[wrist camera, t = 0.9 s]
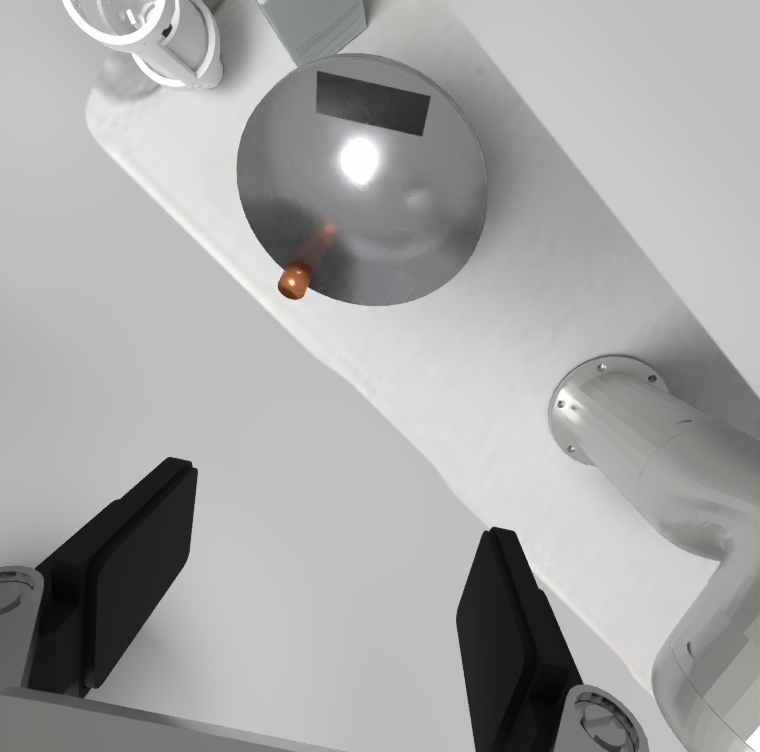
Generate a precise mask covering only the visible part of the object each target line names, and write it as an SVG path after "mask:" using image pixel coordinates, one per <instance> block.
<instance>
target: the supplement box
mask: <svg viewBox="0 0 760 752" xmlns="http://www.w3.org/2000/svg"><path fill="white" fill-rule="evenodd" d="M256 2H257V4H258V5H259V7H260V9H261V10H262V12H263V13H264V15H265V17H266V18H267V20H268V22H269V23H270V25H271V27H272V28H273V30H274V31H275V33H276V35H277V36H278V38H279V40H280V41H281V43H282V44H283V46H284V48H285V49H286V51H287V52H288V54H289V55H290V57H291V59H292V60H293V62H294V63H295V65H296V66H297V68H298V67H300V66H302V65H304V64H305V63H308V62H311V61H313V60H316V59H319V58H322V57H326V56H331V55H334V54H335V53H336V52H338V51H339V50H340V49H341V48H342V47H344V46H345V45H346V44H347V43H349V42H350V41H351V40H352V39H353V38H355V37H356V36H357V35H358V34H359V33H361V32H362V31H363V30H364V29H366V28H367V23H366V17H365V11H364V4H363V0H256Z"/></svg>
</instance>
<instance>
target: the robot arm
mask: <svg viewBox="0 0 760 752" xmlns="http://www.w3.org/2000/svg"><path fill="white" fill-rule="evenodd" d="M599 364H600V366H599V367H598V365H599ZM597 367H598V368H597ZM649 376H650V377H649ZM558 401H560V403H558ZM548 418H549V426H550V431H551V434H552V436H553V438H554V440H555V441H556V443H557V444H558V445H559V447H560V448H561V449H562V450H563V451H564V452H565V453H566V454H567V455H568V456H570V457H571V458H573V459H574V460H576V461H578V462H580V463H583V464H585V465H590V466H594V467H598V468H599V469H600V470H601V471H602V473H603V474H604V475H605V476H606V477H607V478H608V479H609V480H610V481H611V482H612V483H613V484H614V486H615V487H616V488H617V489H618V490H619V491H620V492H621V493H622V494H623V495H624V496H625V497H626V499H627V500H628V501H629V502H630V503H631V504H632V505H633V506H634V507H635V508H636V509H637V510H638V512H639V513H640V514H641V515H642V516H643V517H644V518H645V519H646V520H647V521H648V522H649V523H650V524H651V525H652V526H653V527H654V528H655V530H656V531H657V532H658V533H659V534H661V535H662V536H663V537H664V538H665V539H666V540H668V541H669V542H671V543H672V544H673V545H675V546H677V547H678V548H680V549H682V550H684V551H687V552H689V553H691V554H694V555H696V556H699V557H703V558H707V559H711V560H715V561H721V563H720V565H719V566H718V568H717V569H716V570H715V572H714V573H713V575H712V576H711V578H710V579H709V580H708V584H707V585H706V586H705V588H704V589H703V590H702V592H701V593H700V594H699V596H698V597H697V598H696V600H695V601H694V602H693V604H692V605H691V607H690V608H689V609H688V611H687V612H686V613H685V615H684V616H683V617H682V619H681V620H680V621H679V623H678V624H677V625H676V627H675V628H674V629H673V631H672V633H671V634H670V636H669V637H668V638H667V640H666V641H665V643H664V644H663V646H662V647H661V649H660V651H659V652H658V654H657V656H656V658H655V661H654V664H653V668H652V678H651V681H652V688H653V693H654V696H655V699H656V702H657V705H658V707H659V709H660V711H661V713H662V715H663V717H664V718H665V720H666V722H667V724H668V725H669V727H670V728H671V729H672V731H673V733H674V734H675V736H676V737H677V738H678V740H679V741H680V742H681V744H682V745H683V746H684V748H685V749H686V750H687V751H688V752H760V441H759V440H757V439H755V438H753V437H751V436H749V435H747V434H745V433H743V432H741V431H739V430H738V429H736V428H734V427H732V426H730V425H728V424H726V423H724V422H722V421H720V420H718V419H716V418H715V417H713V416H711V415H709V414H707V413H705V412H703V411H701V410H699V409H697V408H695V407H693V406H692V405H690V404H688V403H686V402H684V401H682V400H680V399H678V398H676V397H674V396H672V395H670V393H669V390H668V388H667V385H666V383H665V382H664V380H663V379H662V377H661V376H660V375H659V374H658V373H657V372H656V371H655V370H654V369H653V368H651V367H649V366H648V365H646V364H644V363H642V362H640V361H637V360H635V359H632V358H627V357H623V356H608V357H602V358H597V359H594V360H591V361H588V362H586V363H584V364H583V365H581V366H579V367H577V368H576V369H575V370H573V371H572V372H571V373H569V374H568V375H567V376H566V377H565V378H564V379H563V381H562V382H561V383H560V384H559V386H558V387H557V389H556V391H555V392H554V394H553V397H552V399H551V402H550V407H549V412H548ZM569 446H570V447H569ZM197 475H198V470H197V468H193V467H192V462H190V461H186V460H182V459H177V458H172V457H168V458H166V459H165V460H164V461H163V462H162V463H161V464H159V465H158V466H157V467H156V468H155V469H154V470H153V471H152V472H150V473H149V474H148V475H147V476H146V477H145V478H143V479H142V480H141V481H140V482H139V483H138V484H137V485H136V486H134V487H133V488H132V489H131V490H130V491H129V492H128V493H126V494H125V495H124V496H123V497H122V498H121V499H118V500H115V501H113V502H112V503H110V504H109V505H108V506H107V507H106V508H104V509H103V510H102V511H101V512H100V513H99V514H97V515H96V516H95V517H94V518H93V519H92V520H90V521H89V522H88V523H87V524H86V525H85V526H84V527H82V528H81V529H80V530H79V531H78V532H77V533H75V534H74V535H73V536H72V537H71V538H70V539H68V540H67V541H66V542H65V543H64V544H63V545H62V546H60V547H59V548H58V549H57V550H56V551H54V552H53V553H52V554H51V555H50V556H49V557H48V558H46V559H45V560H44V561H43V562H42V563H41V564H40V565H38V566H37V567H36V568H35V569H33V568H30V567H25V566H4V567H0V752H345V751H339V750H335V749H330V748H325V747H320V746H315V745H311V744H306V743H301V742H296V741H291V740H287V739H282V738H277V737H272V736H267V735H262V734H258V733H253V732H247V731H243V730H238V729H233V728H228V727H223V726H219V725H213V724H209V723H204V722H199V721H194V720H188V719H184V718H179V717H174V716H169V715H164V714H158V713H153V712H149V711H143V710H139V709H134V708H129V707H123V706H119V705H114V704H108V703H104V702H98V701H93V700H88V699H84V697H85V696H86V695H87V693H88V692H89V690H90V689H91V688H95V689H97V688H99V687H100V686H101V685H102V684H103V682H104V681H105V680H106V678H107V677H108V675H109V674H110V672H111V671H112V669H113V668H114V667H115V665H116V664H117V662H118V661H119V659H120V658H121V657H122V655H123V654H124V652H125V651H126V649H127V648H128V646H129V645H130V644H131V642H132V641H133V639H134V638H135V636H136V635H137V633H138V632H139V631H140V629H141V628H142V626H143V625H144V623H145V622H146V620H147V619H148V617H149V616H150V615H151V613H152V612H153V610H154V609H155V607H156V606H157V605H158V603H159V602H160V600H161V599H162V597H163V596H164V594H165V593H166V591H167V590H168V589H169V587H170V586H171V584H172V583H173V581H174V580H175V578H176V577H177V576H178V574H179V573H180V571H181V570H182V568H183V567H184V565H185V563H186V561H187V559H188V556H189V551H190V541H191V533H192V523H193V514H194V504H195V495H196V485H197ZM456 624H457V631H458V637H459V644H460V651H461V658H462V664H463V670H464V677H465V684H466V691H467V697H468V704H469V710H470V717H471V724H472V730H473V736H474V743H475V750H476V752H649V748H648V742H647V738H646V736H645V733H644V732H643V729H642V727H641V725H640V724H639V722H638V721H637V720H636V718H635V717H634V715H633V714H632V713H631V712H630V711H629V710H628V709H627V708H626V707H625V706H624V705H623V704H622V703H621V702H620V701H618V700H617V699H616V698H615V697H613V696H612V695H611V694H609V693H607V692H605V691H604V690H602V689H600V688H598V687H594V686H590V685H584V684H583V682H582V679H581V677H580V674H579V672H578V670H577V667H576V665H575V663H574V660H573V658H572V656H571V653H570V651H569V649H568V646H567V644H566V641H565V639H564V637H563V634H562V632H561V630H560V627H559V625H558V623H557V620H556V618H555V616H554V613H553V611H552V608H551V606H550V604H549V601H548V599H547V597H546V595H545V593H544V592H543V591H542V590H541V589H539V588H538V586H537V584H536V581H535V579H534V576H533V574H532V571H531V569H530V567H529V564H528V562H527V559H526V557H525V554H524V552H523V550H522V547H521V545H520V542H519V540H518V537H517V535H516V533H515V532H514V531H512V530H507V529H502V528H498V527H492V528H491V529H490V531H484V532H483V534H482V537H481V540H480V543H479V546H478V549H477V552H476V555H475V558H474V561H473V564H472V567H471V570H470V573H469V576H468V579H467V582H466V585H465V588H464V591H463V594H462V597H461V600H460V603H459V606H458V610H457V616H456Z"/></svg>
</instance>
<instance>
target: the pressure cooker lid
mask: <svg viewBox="0 0 760 752" xmlns="http://www.w3.org/2000/svg"><path fill="white" fill-rule="evenodd" d="M237 184H238V190H239V195H240V200H241V203H242V206H243V210H244V213H245V215H246V218H247V220H248V222H249V224H250V227H251V229H252V230H253V232H254V234H255V235H256V237H257V239H258V241H259V242H260V243H261V245H262V246H263V247H264V249H265V250H266V252H267V253H268V254H269V255H270V256H271V257H272V258H273V260H274V261H275V262H276V263H277V264H278V265H279V266H280V267H281V268H283V269H284V272H283V274H282V276H281V278H280V280H279V282H278V289H279V291H280V292H281V294H282V295H284V296H285V297H287V298H289V299H293V300H297V299H300V298H302V297H303V296H304V294H305V292H306V289H307V287H309V288H310V289H312V290H314V291H316V292H318V293H320V294H322V295H325V296H328V297H330V298H333V299H336V300H339V301H343V302H347V303H352V304H358V305H367V306H388V305H395V304H401V303H405V302H409V301H413V300H415V299H418V298H421V297H423V296H426V295H428V294H429V293H431V292H433V291H435V290H437V289H438V288H440V287H441V286H443V285H444V284H446V283H447V282H448V281H449V280H450V279H452V278H453V277H454V276H455V275H456V274H457V273H458V272H459V271H460V270H461V268H462V267H463V266H464V265H465V264H466V262H467V261H468V259H469V258H470V256H471V255H472V253H473V251H474V250H475V247H476V245H477V243H478V241H479V239H480V236H481V233H482V229H483V226H484V222H485V215H486V209H487V177H486V169H485V162H484V158H483V154H482V151H481V147H480V144H479V142H478V139H477V137H476V135H475V132H474V130H473V128H472V126H471V124H470V123H469V121H468V120H467V118H466V116H465V115H464V113H463V111H462V110H461V109H460V108H459V106H458V105H457V104H456V103H455V102H454V100H453V99H452V98H451V97H450V96H449V95H448V94H447V93H446V92H445V91H444V90H443V89H442V88H441V87H440V86H438V85H437V84H436V83H435V82H434V81H432V80H431V79H429V78H428V77H426V76H425V75H424V74H422V73H421V72H419V71H417V70H415V69H413V68H411V67H409V66H407V65H405V64H403V63H401V62H398V61H395V60H392V59H388V58H385V57H382V56H376V55H369V54H362V53H349V54H337V55H331V56H326V57H322V58H319V59H316V60H313V61H311V62H308V63H305V64H304V65H302V66H300V67H298V68H297V69H295V70H293V71H291V72H290V73H289V74H287V75H286V76H285V77H284V78H282V79H281V80H280V81H279V82H278V83H276V85H275V86H274V87H273V88H272V89H271V90H270V91H269V92H268V93H267V95H266V96H265V97H264V98H263V99H262V100H261V102H260V103H259V104H258V105H257V106H256V108H255V110H254V111H253V113H252V114H251V116H250V118H249V119H248V121H247V124H246V126H245V129H244V131H243V134H242V136H241V141H240V145H239V149H238V157H237Z"/></svg>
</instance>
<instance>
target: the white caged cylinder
mask: <svg viewBox="0 0 760 752" xmlns="http://www.w3.org/2000/svg"><path fill="white" fill-rule="evenodd" d="M62 1H63V4H64V6H65V8H66V9H67V11H68V13H69V14H70V16H71V17H72V18H73V20H74V21H75V22H76V23H77V24H78V26H79V27H80V28H82V29H83V30H84V31H85V32H86V33H88V34H89V35H90V36H92V37H93V38H95V39H96V40H97V41H99V42H100V43H102V44H103V45H105V46H107V47H109V48H111V49H114V50H117V51H121V52H131V53H132V56H133V58H134V59H135V61H136V63H137V64H138V66H139V67H140V68H141V69H142V71H143V72H144V73H145V74H146V75H148V76H149V77H150V78H151V79H153V80H154V81H156V82H157V83H159V84H160V85H162V86H163V87H165V88H168V89H170V90H174V91H181V92H184V91H191V90H194V89H197V88H199V87H200V86H201V87H203V88H207V89H210V88H214V87H216V86H217V85H218V84H219V83H220V82H221V80H222V77H223V66H222V63H221V61H220V59H219V57H220V48H221V43H220V35H219V30H218V27H217V24H216V21H215V19H214V17H213V15H212V13H211V12H210V10H209V9H208V8H207V6H206V5H205V4H204V2H203V1H202V0H190V1H191V2H193V3H194V4H196V5H197V6H198V7H199V8H200V10H201V11H202V13H203V15H204V18H205V20H206V22H205V20H204V19H203V17H202V16H201V15H200V13H199V12H198V11H197V10H196V9H195V7H194V6H193V5H192V4H191V3H190V1H189V0H97V6H98V10H99V13H100V16H101V19H102V21H103V23H104V25H105V27H106V28H107V30H108V31H109V32H110V34H111V35H108V34H104V33H102V32H100V31H98V30H96V29H95V28H94V27H93V26H92V24H91V23H90V22H89V20H88V19H87V17H86V16H85V14H84V12H83V10H82V8H81V6H80V3H79V0H62ZM104 1H105V2H104ZM175 7H176V11H175V10H174V9H175ZM119 10H120V11H121V13H122V16H123V22H122V21H121V20H120V17H119ZM206 23H207V24H206ZM149 65H150V66H152V67H153V68H154V69H156V70H157V71H158V72H160V73H161V74H162V75H164V76H165V77H167V78H169V79H166V78H163V77H161V76H159V75H157V74H156V73H155V72H154V71H153V70H152V69H151V67H150V66H149Z"/></svg>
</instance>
